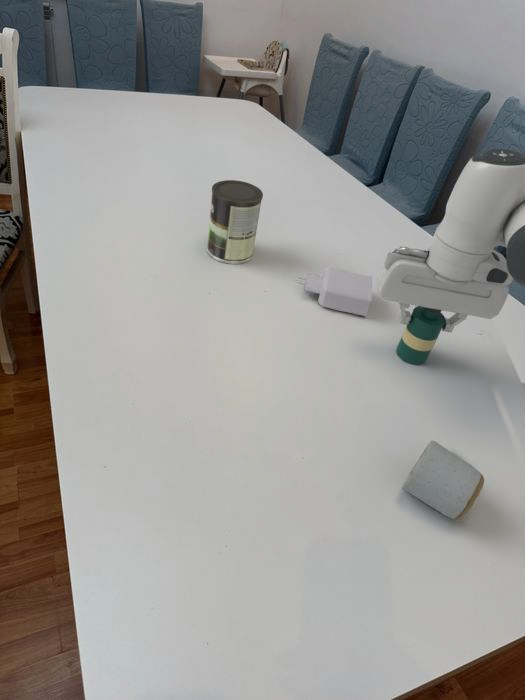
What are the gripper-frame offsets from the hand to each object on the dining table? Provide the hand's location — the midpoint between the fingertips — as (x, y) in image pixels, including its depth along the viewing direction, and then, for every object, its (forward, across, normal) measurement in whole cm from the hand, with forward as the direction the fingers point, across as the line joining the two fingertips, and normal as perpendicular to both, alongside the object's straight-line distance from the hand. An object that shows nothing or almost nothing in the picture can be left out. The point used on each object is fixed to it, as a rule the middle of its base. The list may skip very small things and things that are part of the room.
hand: (424, 326), depth 86 cm
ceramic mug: (+7, -1, -29) cm, 30 cm away
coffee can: (+7, -37, +25) cm, 45 cm away
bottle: (+7, 0, 0) cm, 7 cm away
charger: (+7, -15, +14) cm, 22 cm away
